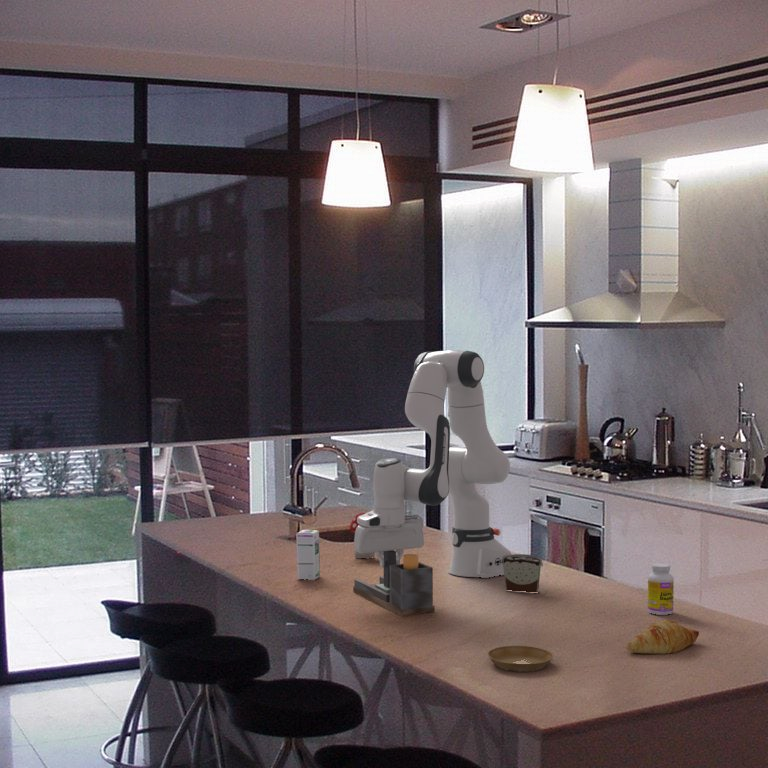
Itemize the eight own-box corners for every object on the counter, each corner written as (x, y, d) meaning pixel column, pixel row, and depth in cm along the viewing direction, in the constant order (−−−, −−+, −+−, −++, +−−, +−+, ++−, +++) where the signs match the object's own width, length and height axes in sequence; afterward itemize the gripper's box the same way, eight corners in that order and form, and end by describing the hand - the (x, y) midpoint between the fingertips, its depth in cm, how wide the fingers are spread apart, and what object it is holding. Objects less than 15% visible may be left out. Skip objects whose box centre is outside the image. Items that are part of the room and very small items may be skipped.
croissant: (635, 672, 268) (646, 646, 264) (610, 643, 276) (620, 617, 272) (704, 657, 278) (715, 632, 274) (678, 629, 286) (689, 604, 282)
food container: (548, 589, 337) (548, 555, 337) (542, 594, 332) (542, 559, 331) (508, 586, 343) (507, 552, 342) (501, 590, 337) (500, 556, 336)
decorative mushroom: (381, 555, 390) (381, 511, 390) (377, 560, 382) (376, 515, 381) (352, 554, 392) (352, 510, 391) (347, 559, 384) (346, 514, 383)
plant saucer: (547, 655, 271) (547, 644, 271) (558, 674, 256) (558, 663, 256) (483, 657, 270) (483, 645, 270) (491, 675, 256) (491, 664, 256)
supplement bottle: (659, 617, 305) (659, 568, 304) (642, 611, 311) (642, 563, 310) (678, 614, 308) (679, 565, 307) (661, 608, 314) (662, 561, 313)
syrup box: (315, 580, 353) (315, 532, 352) (296, 579, 354) (296, 532, 353) (320, 576, 358) (319, 529, 358) (301, 575, 360) (301, 529, 359)
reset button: (414, 575, 316) (414, 553, 316) (421, 578, 313) (420, 556, 312) (401, 576, 315) (400, 554, 314) (407, 579, 311) (407, 557, 311)
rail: (384, 588, 342) (384, 547, 341) (434, 611, 313) (434, 567, 312) (353, 591, 337) (352, 550, 337) (400, 615, 308) (400, 571, 308)
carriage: (393, 590, 331) (392, 547, 330) (405, 596, 324) (404, 552, 323) (375, 592, 329) (374, 549, 328) (387, 598, 321) (386, 554, 321)
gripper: (417, 512, 332) (418, 560, 333) (351, 518, 324) (352, 567, 325) (427, 515, 327) (428, 564, 327) (360, 521, 318) (361, 571, 319)
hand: (389, 566), depth 326 cm, fingers closed on carriage, 2 cm apart
